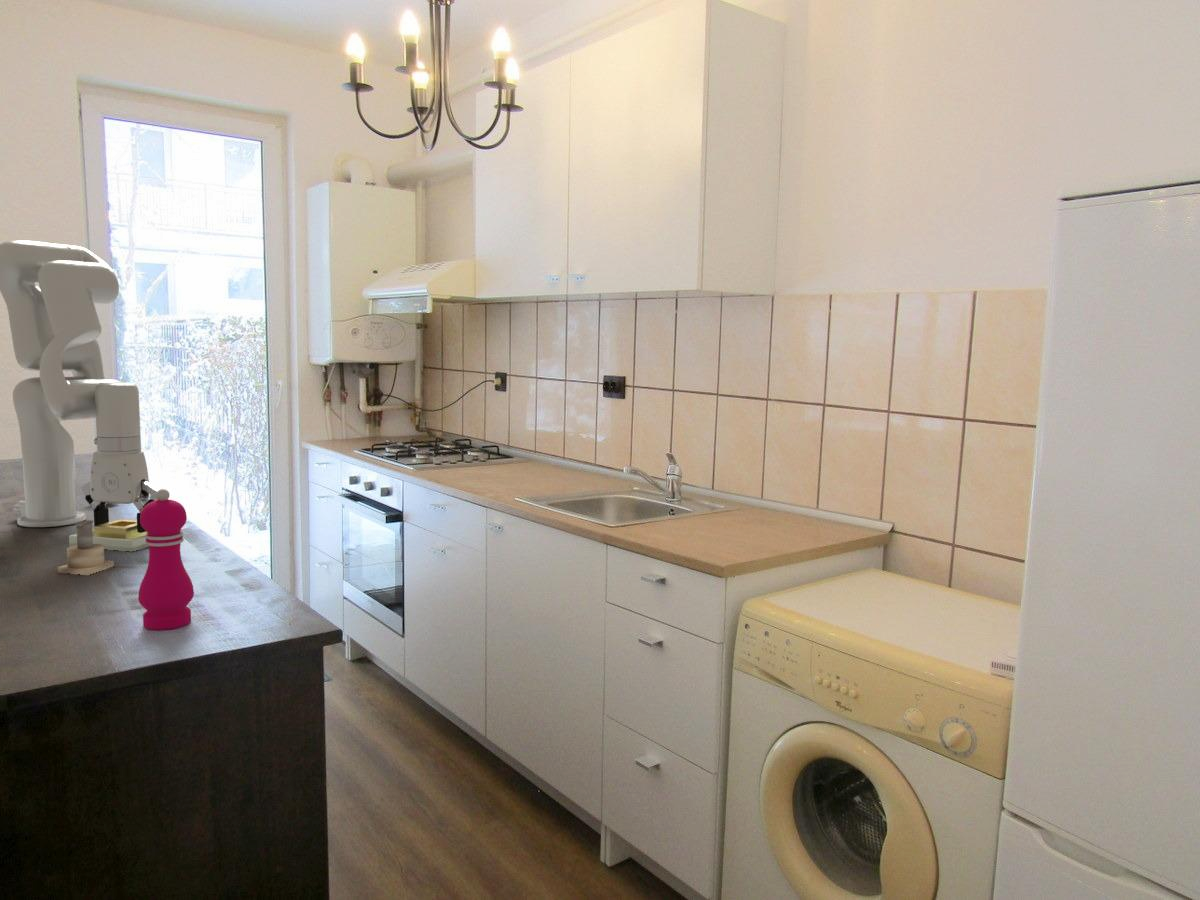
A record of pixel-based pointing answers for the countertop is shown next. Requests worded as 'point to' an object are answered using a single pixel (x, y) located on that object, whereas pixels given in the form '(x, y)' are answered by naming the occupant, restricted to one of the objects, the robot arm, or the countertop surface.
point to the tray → (114, 542)
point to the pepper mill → (165, 566)
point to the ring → (118, 529)
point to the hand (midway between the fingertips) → (123, 529)
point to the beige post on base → (85, 553)
